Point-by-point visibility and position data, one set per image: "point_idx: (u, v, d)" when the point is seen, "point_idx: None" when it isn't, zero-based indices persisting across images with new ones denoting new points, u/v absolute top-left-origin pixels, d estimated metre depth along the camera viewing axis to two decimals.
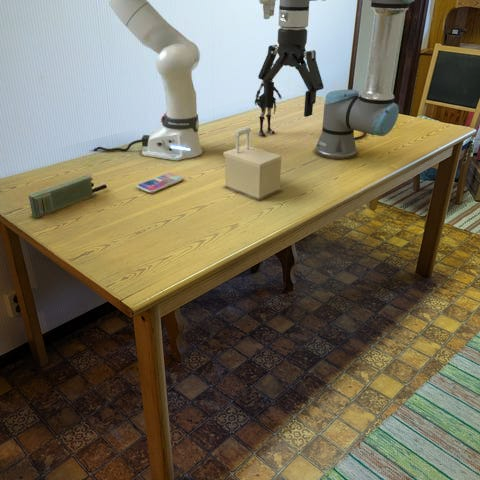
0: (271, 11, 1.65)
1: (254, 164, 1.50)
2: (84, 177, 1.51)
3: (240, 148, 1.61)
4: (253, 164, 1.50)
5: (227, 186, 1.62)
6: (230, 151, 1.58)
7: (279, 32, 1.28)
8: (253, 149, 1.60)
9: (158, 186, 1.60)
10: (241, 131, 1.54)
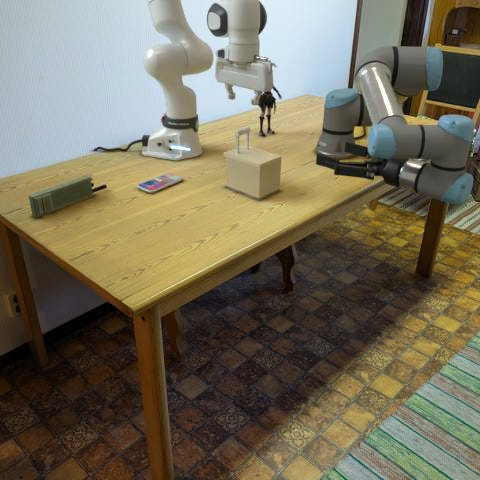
0: None
1: (254, 164, 1.50)
2: (84, 177, 1.51)
3: (240, 148, 1.61)
4: (253, 164, 1.50)
5: (227, 186, 1.62)
6: (230, 151, 1.58)
7: (395, 186, 1.25)
8: (253, 149, 1.60)
9: (158, 186, 1.60)
10: (241, 131, 1.54)
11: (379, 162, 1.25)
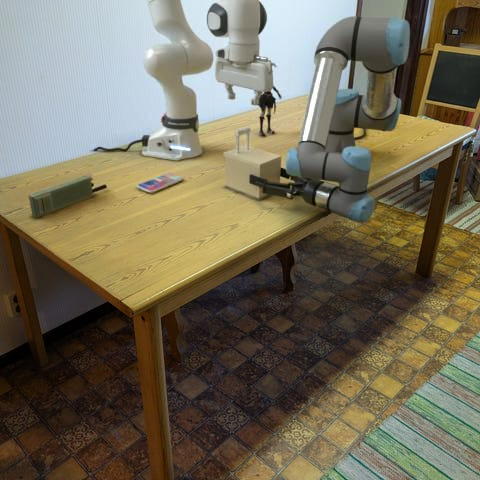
0: None
1: (254, 164, 1.50)
2: (84, 177, 1.51)
3: (240, 148, 1.61)
4: (253, 164, 1.50)
5: (227, 186, 1.62)
6: (230, 151, 1.58)
7: None
8: (253, 149, 1.60)
9: (158, 186, 1.60)
10: (241, 131, 1.54)
11: (300, 184, 1.45)
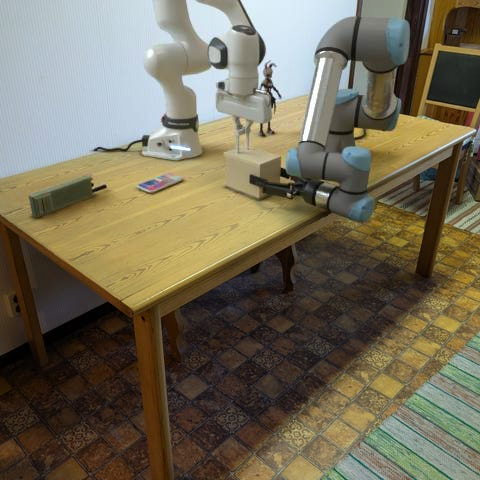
0: None
1: (254, 164, 1.50)
2: (84, 177, 1.51)
3: (240, 148, 1.61)
4: (253, 164, 1.50)
5: (227, 186, 1.62)
6: (230, 151, 1.58)
7: None
8: (253, 149, 1.60)
9: (158, 186, 1.60)
10: (241, 131, 1.54)
11: (300, 184, 1.45)
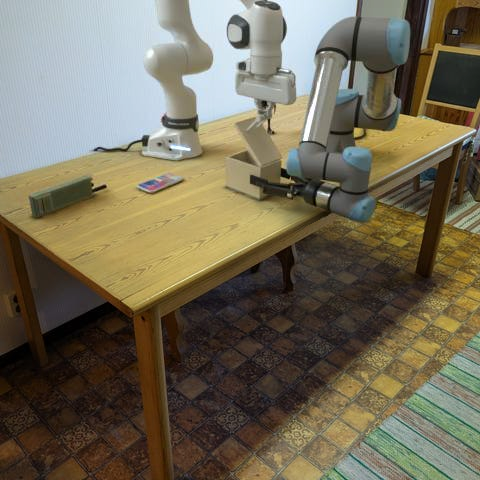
0: None
1: (256, 160, 1.49)
2: (84, 177, 1.51)
3: (251, 122, 1.53)
4: (255, 159, 1.49)
5: (227, 186, 1.62)
6: (241, 124, 1.51)
7: None
8: (262, 129, 1.55)
9: (158, 186, 1.60)
10: (263, 118, 1.46)
11: (300, 185, 1.45)
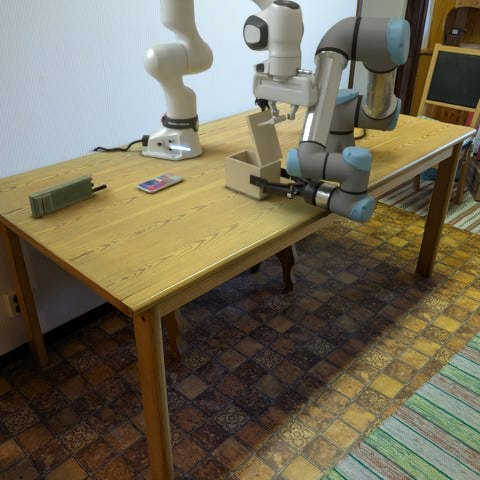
0: None
1: (258, 159, 1.48)
2: (84, 177, 1.51)
3: (263, 116, 1.49)
4: (257, 158, 1.48)
5: (227, 186, 1.62)
6: (253, 117, 1.47)
7: None
8: (271, 125, 1.52)
9: (158, 186, 1.60)
10: (277, 122, 1.43)
11: (300, 185, 1.45)
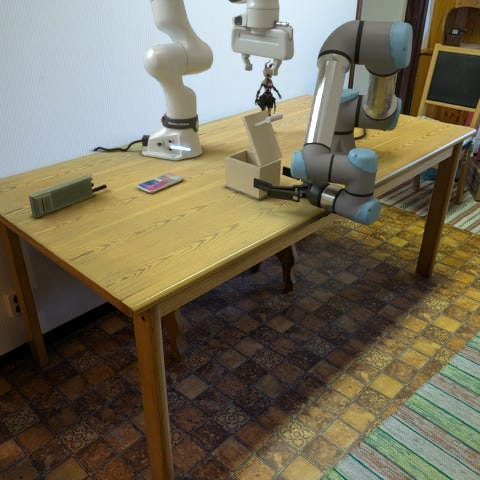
0: None
1: (257, 159, 1.49)
2: (84, 177, 1.51)
3: (260, 116, 1.50)
4: (256, 158, 1.49)
5: (227, 186, 1.62)
6: (250, 118, 1.48)
7: None
8: (269, 125, 1.52)
9: (158, 186, 1.60)
10: (273, 120, 1.44)
11: (305, 186, 1.43)
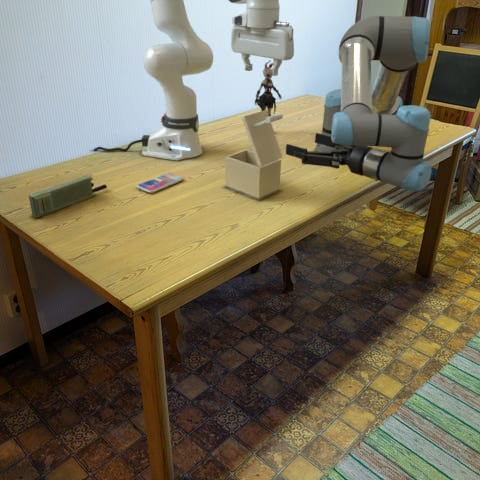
0: None
1: (257, 159, 1.49)
2: (84, 177, 1.51)
3: (260, 116, 1.50)
4: (256, 158, 1.49)
5: (227, 186, 1.62)
6: (250, 118, 1.48)
7: None
8: (269, 125, 1.52)
9: (158, 186, 1.60)
10: (273, 120, 1.44)
11: (344, 152, 1.31)
